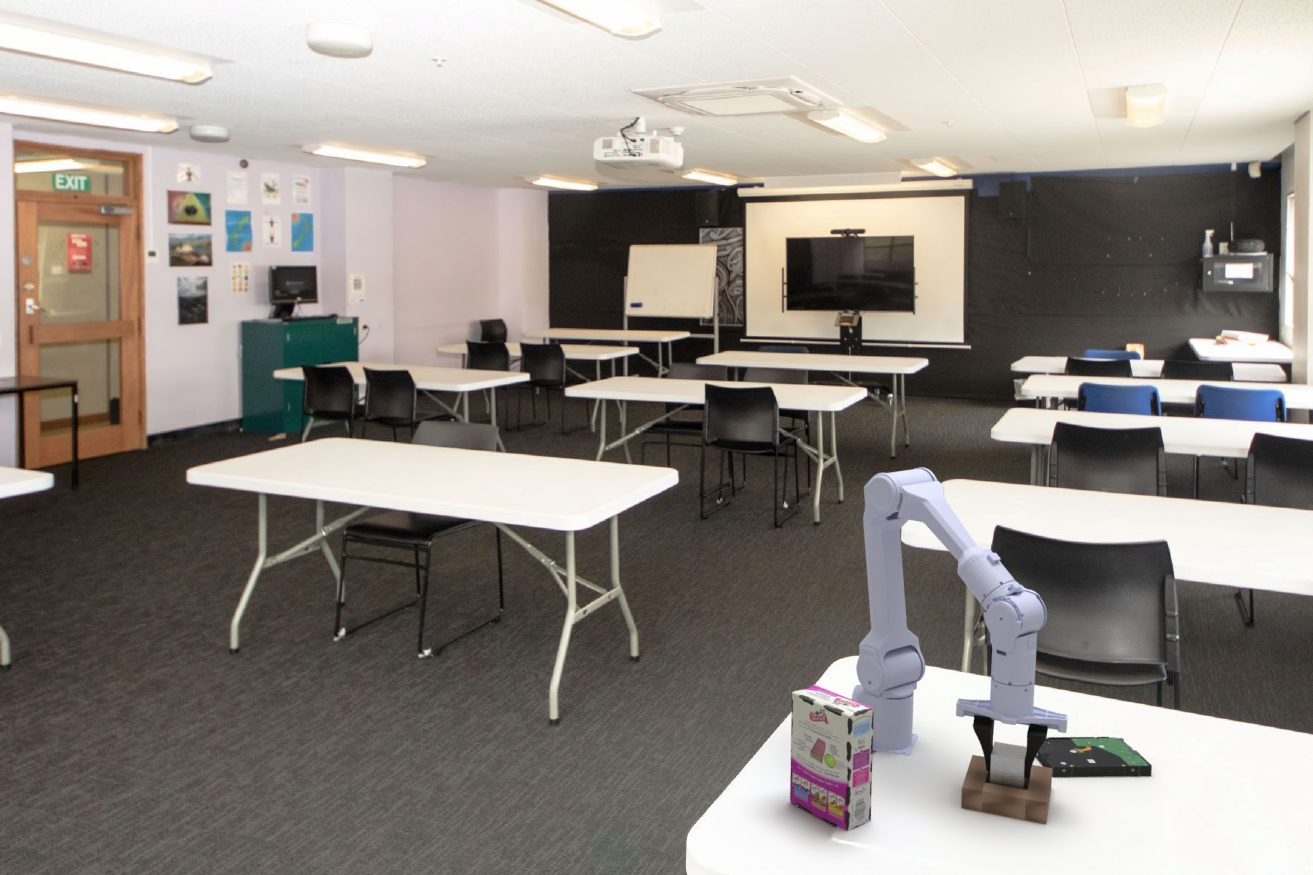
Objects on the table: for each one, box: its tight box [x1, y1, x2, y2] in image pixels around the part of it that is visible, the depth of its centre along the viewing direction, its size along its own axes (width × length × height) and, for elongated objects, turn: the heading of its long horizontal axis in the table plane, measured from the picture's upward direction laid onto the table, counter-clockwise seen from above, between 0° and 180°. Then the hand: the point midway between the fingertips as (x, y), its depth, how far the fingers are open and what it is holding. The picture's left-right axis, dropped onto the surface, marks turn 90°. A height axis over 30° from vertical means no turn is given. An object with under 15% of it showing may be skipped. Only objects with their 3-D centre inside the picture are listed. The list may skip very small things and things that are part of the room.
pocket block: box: [960, 754, 1053, 825], centre depth 147 cm, size 11×11×4 cm
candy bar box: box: [789, 684, 874, 832], centre depth 143 cm, size 11×5×16 cm, turn 37°
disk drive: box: [1035, 736, 1153, 778], centre depth 158 cm, size 10×3×15 cm
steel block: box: [990, 741, 1027, 790], centre depth 146 cm, size 4×4×7 cm
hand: (1008, 771), depth 146 cm, fingers closed on steel block, 4 cm apart
